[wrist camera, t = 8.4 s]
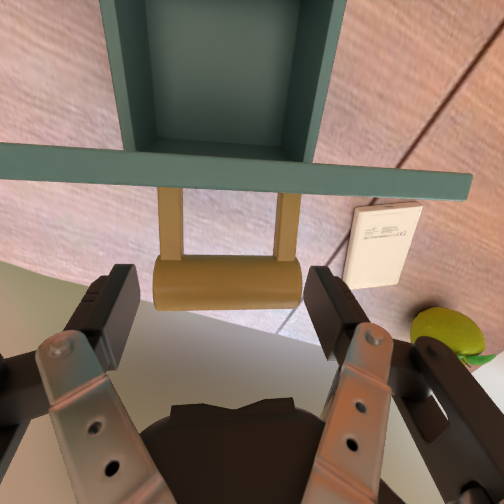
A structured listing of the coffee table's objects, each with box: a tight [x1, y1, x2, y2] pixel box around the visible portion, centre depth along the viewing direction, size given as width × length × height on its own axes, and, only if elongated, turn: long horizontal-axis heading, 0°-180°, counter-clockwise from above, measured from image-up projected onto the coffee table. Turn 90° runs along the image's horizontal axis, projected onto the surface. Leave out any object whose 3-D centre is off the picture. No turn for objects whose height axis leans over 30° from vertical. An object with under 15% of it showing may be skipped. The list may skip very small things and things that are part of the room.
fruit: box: [410, 307, 496, 368], centre depth 42 cm, size 9×9×10 cm
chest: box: [99, 0, 347, 163], centre depth 20 cm, size 13×14×9 cm
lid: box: [0, 142, 473, 311], centre depth 14 cm, size 13×14×5 cm
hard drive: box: [342, 202, 423, 290], centre depth 36 cm, size 2×8×12 cm
